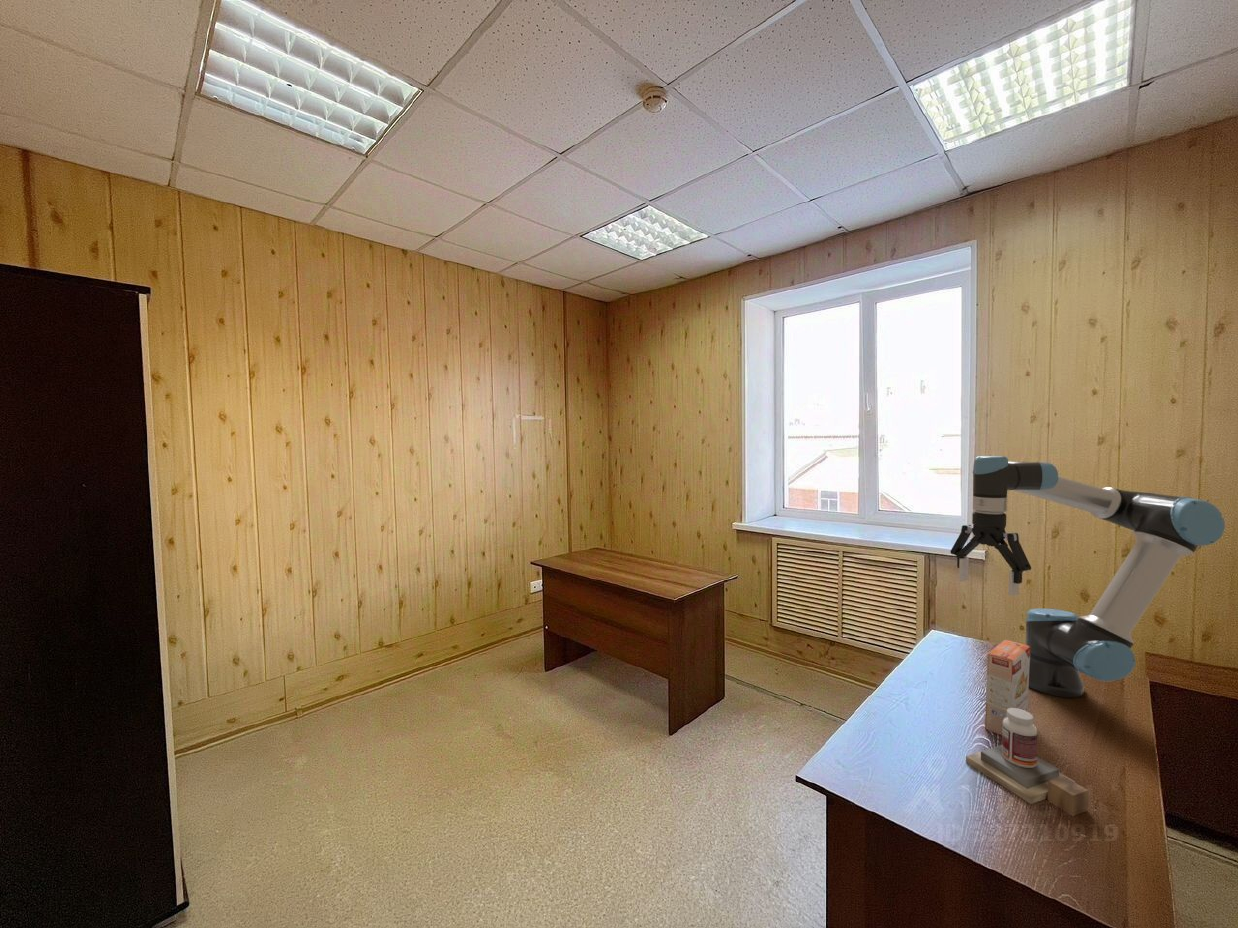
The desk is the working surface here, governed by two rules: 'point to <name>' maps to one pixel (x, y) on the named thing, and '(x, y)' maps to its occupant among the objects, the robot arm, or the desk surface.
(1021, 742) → the pill bottle
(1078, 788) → the walnut cube
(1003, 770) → the podium
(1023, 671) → the cracker box
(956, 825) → the desk surface
